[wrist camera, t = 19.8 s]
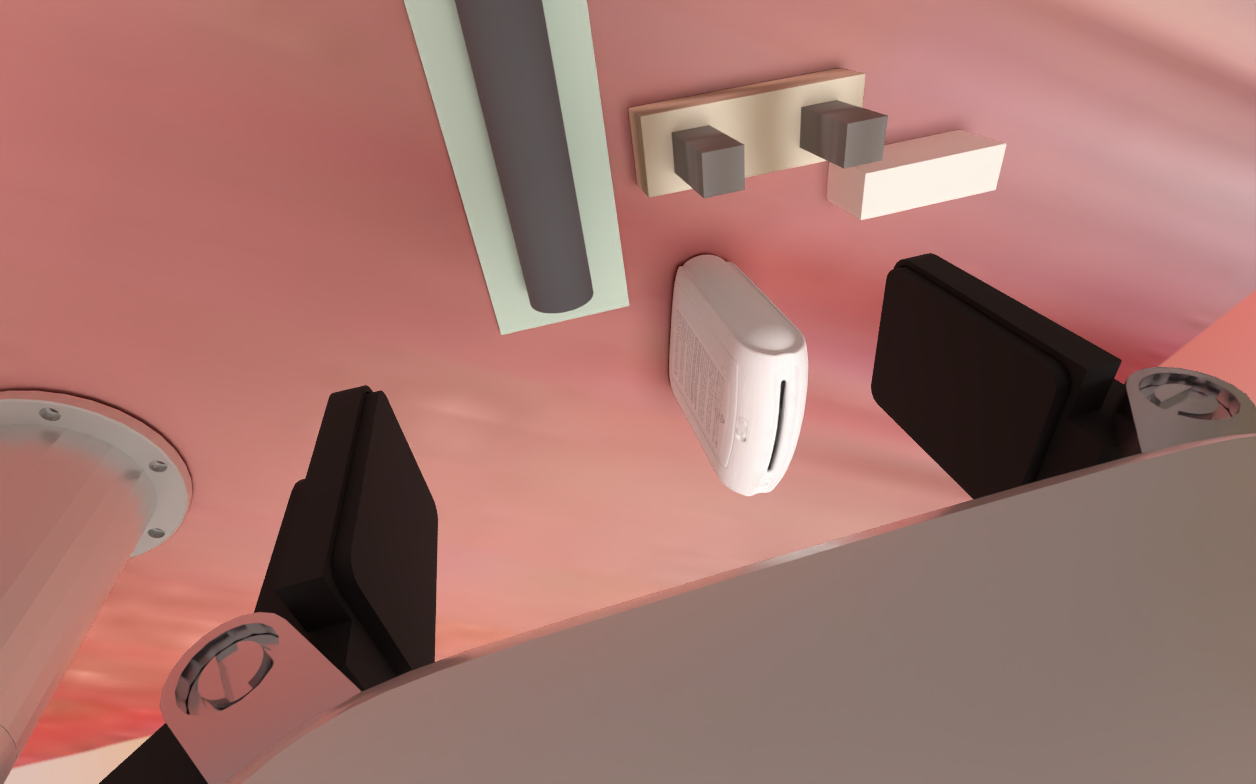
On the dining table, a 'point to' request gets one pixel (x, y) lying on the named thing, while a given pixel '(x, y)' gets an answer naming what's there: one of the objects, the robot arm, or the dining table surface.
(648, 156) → the clamp board
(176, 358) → the dining table surface
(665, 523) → the dining table surface
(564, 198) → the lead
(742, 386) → the photo printer
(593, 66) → the mat
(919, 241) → the dining table surface
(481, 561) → the dining table surface
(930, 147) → the beige rectangular block
